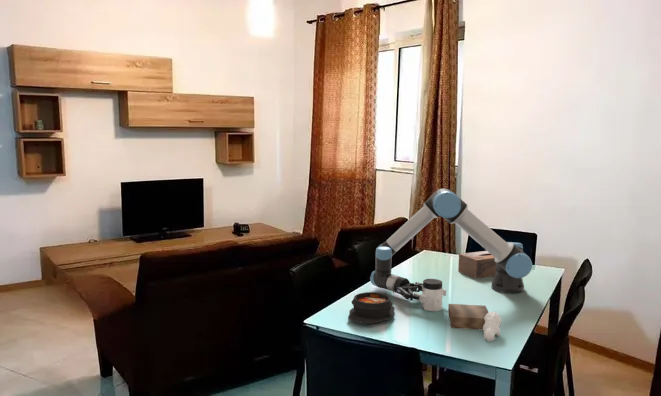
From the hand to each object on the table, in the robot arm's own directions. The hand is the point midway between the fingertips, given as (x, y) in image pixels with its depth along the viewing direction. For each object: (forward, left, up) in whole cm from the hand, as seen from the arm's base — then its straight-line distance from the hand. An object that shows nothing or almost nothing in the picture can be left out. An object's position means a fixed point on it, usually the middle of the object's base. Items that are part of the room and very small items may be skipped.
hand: (436, 296), depth 219 cm
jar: (+2, -2, -6) cm, 7 cm away
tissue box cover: (-30, -65, -6) cm, 72 cm away
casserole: (+27, +13, -6) cm, 31 cm away
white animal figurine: (-19, +27, -6) cm, 33 cm away
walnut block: (-12, +12, -6) cm, 19 cm away
